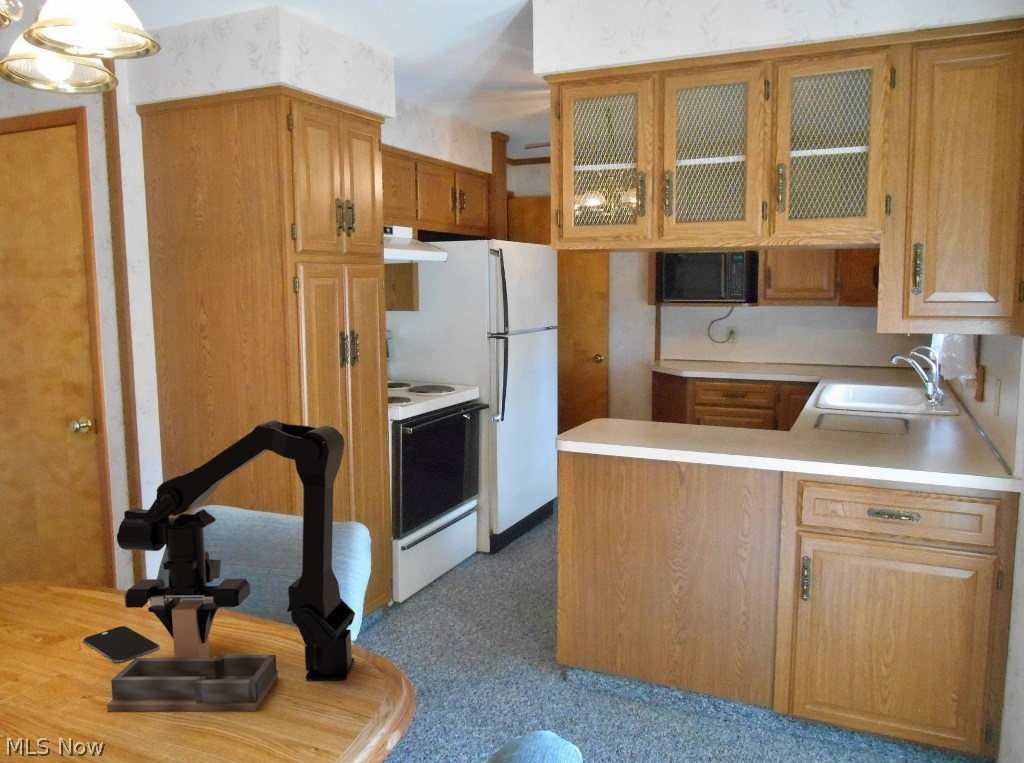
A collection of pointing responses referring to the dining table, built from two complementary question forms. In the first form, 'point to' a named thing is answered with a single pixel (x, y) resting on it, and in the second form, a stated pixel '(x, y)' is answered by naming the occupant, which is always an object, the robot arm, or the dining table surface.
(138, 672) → the keyhole board
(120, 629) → the smartphone
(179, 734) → the dining table surface
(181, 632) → the peg
